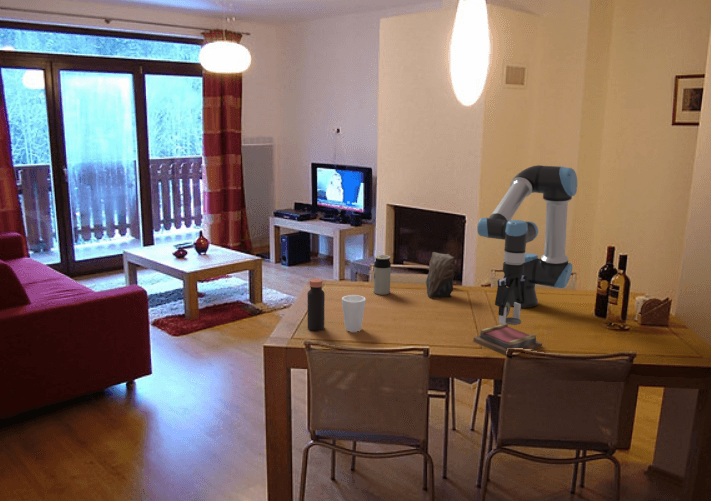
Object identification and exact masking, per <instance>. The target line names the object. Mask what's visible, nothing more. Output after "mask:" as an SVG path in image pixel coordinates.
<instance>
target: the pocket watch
mask: <svg viewBox="0 0 711 501" xmlns="http://www.w3.org/2000/svg"><path fill="white" fill-rule="evenodd" d="M502 304H503V303H502ZM505 307H506V308H507V310H506V324H508V325H510V326H518V325H520V324H522V320H521V319H517V318H513V316H512V317H508V315H509V314H510V311H511V306H510V304H509V302H508V301H507V303H506V306H505Z"/></svg>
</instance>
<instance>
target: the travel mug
mask: <svg viewBox="0 0 711 501" xmlns="http://www.w3.org/2000/svg"><path fill="white" fill-rule="evenodd" d="M374 259H375V261H374V263H373V289H372V290H373V293H374V294H375V295H381V296H382V295H383V296H385V295H388V294H390V293H391V269H392V268H391V267H392V263H391V261H390V259H391V256H390V255H387V254H377V255H374Z"/></svg>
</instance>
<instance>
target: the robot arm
mask: <svg viewBox="0 0 711 501" xmlns="http://www.w3.org/2000/svg"><path fill="white" fill-rule="evenodd" d="M577 190H578V176H577V172H576V171H575V169H573V168H572V167H566V166H559V165H558V166H556V165H555V166H554V165H539V164H538V165H537V164H536V165H532V166H530V167H527V168H526V169H524V170H521V171H520V172H518V173H517V174H516V175H515V176H514V177H513V178H512V180H511V181H510V184H509V188H508V190H507V191H506V193H505V194H504V196H503V197H502V198H501V200H500V202H499V203H498V204H497V206H496V207H495V208H494V210H493V212H492V213H491V214H490V216H489V217H480V219H479V220H478V222H477V234H478V235H479V236H480V237H482V238H487V239H494V240H495V239H496V240H503V241H504V249H503V250H504V254H503V261H504V262H502V272H503V278H502V279H498V280H497V289H496V293H495V294H496V296H495V301H494V305H495V306H496V307H498V323H499V324H500V325H501V324H505V323H506V318H507V317H506V310H507V308H506V307H505V306H506V303H507V301H508V302H509V304H510V305H511V306H510V307H513V306H514V307H513V311H512V318H517V319H520V318H521V311H522V308H521V307H533V306H536V305H537V306H538V298H537V297H538V296H537V292H536V285H539V286H544V287H550V288H554V289H556V288H558V289H564V288H566V287H567V286H568V283H569V281H570V280H571V276H572V272H573V263H571V262H569V257H568V256H567V255H566V241H567V240H566V239H567V224H568V223H567V221H568V203H569V202H570V201H572V200H573V199H572V197H575V196H576V194H577ZM532 193H535V194H536V193H537V194H542V199H543V200H544V201H545V203H546V204H545V205H546V206H545V207H546V208H545V230H544V231H545V232H544V251H543V254H542V255H541V256H540V258H539V255H538V254H537V253H527V252H526V248H527V244H528V243H530V242H532V241H534V240H535V239H536V238H537V236H538V234H539V228H538V226H537V224H536V223H534V222H533V221H528V220H526V221H525V220H520V219H512V218H513V217H514V215H515V214H516V213H517V211H518V209H519V207H521V206H522V203H523V202H524V200H525V199H526V198H527V197H529V196H530V195H531V194H532ZM502 303H503V304H502ZM537 306H536V307H537ZM533 308H534V307H533ZM520 320H521V319H520Z"/></svg>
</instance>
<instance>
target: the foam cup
mask: <svg viewBox="0 0 711 501" xmlns="http://www.w3.org/2000/svg"><path fill="white" fill-rule="evenodd" d="M366 301H367V300H366V297H365V296H362V295H358V294H349V295H345V296H342V297H341V306H342V313H343V321H344V328H345V329H346V330H347V331H346V330H345V331H346V332H348V331H351V332H350V333H358V332H357V331H359V332H360V330H361V331H362V327H363V319H364V314H365V308H366Z"/></svg>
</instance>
